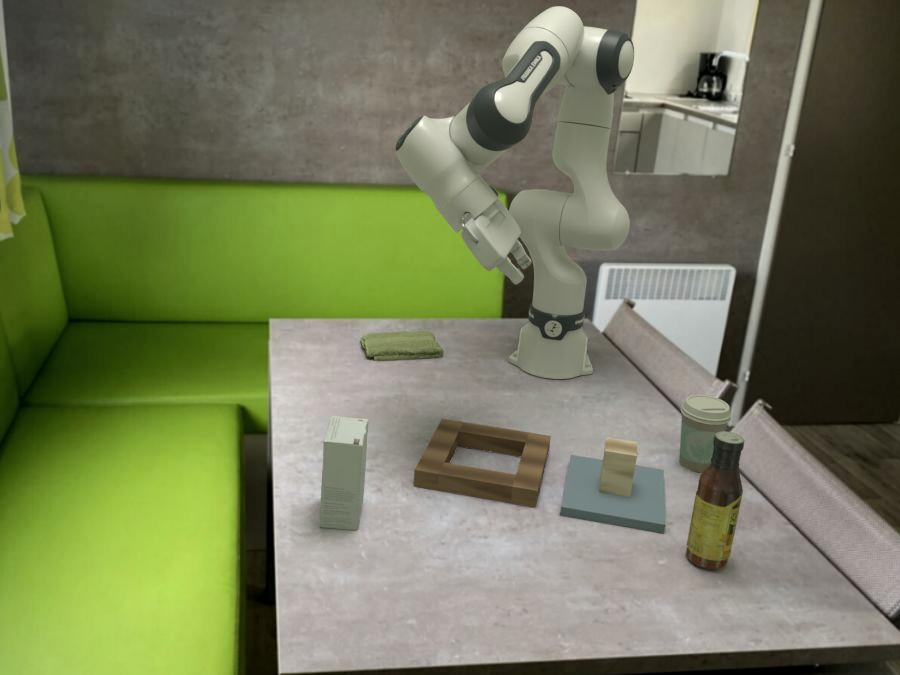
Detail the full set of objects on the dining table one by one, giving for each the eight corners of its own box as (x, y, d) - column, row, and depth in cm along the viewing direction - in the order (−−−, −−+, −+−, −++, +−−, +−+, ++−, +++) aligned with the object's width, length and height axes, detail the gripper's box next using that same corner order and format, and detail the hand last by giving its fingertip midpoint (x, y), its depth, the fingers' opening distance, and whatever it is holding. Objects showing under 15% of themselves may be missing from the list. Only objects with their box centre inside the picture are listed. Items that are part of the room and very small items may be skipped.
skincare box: (326, 499, 136) (329, 413, 130) (365, 502, 136) (369, 416, 131) (318, 529, 128) (320, 439, 123) (359, 532, 128) (363, 442, 123)
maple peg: (600, 477, 146) (606, 437, 143) (630, 482, 145) (637, 442, 142) (598, 492, 141) (605, 450, 138) (630, 497, 140) (636, 456, 137)
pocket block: (440, 433, 160) (441, 418, 159) (549, 450, 156) (550, 435, 155) (413, 486, 141) (414, 469, 140) (535, 507, 138) (537, 490, 137)
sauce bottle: (729, 575, 124) (756, 452, 118) (685, 567, 125) (709, 445, 119) (725, 550, 131) (751, 431, 124) (683, 543, 132) (706, 424, 125)
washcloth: (357, 342, 201) (358, 329, 200) (431, 340, 206) (432, 327, 205) (367, 364, 190) (367, 350, 188) (445, 361, 194) (446, 348, 193)
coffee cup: (668, 469, 153) (680, 407, 149) (674, 449, 161) (685, 389, 156) (718, 480, 151) (731, 418, 146) (722, 459, 158) (734, 399, 154)
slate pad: (569, 462, 153) (570, 454, 152) (662, 477, 150) (663, 469, 150) (560, 514, 136) (561, 506, 136) (663, 533, 134) (665, 524, 133)
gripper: (473, 207, 130) (531, 278, 132) (495, 185, 149) (546, 247, 150) (442, 233, 132) (499, 303, 134) (468, 207, 151) (518, 269, 153)
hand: (524, 273), depth 142 cm, fingers open, 8 cm apart
